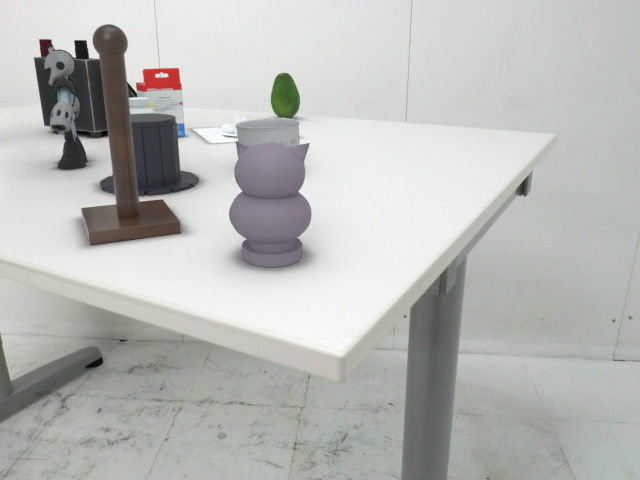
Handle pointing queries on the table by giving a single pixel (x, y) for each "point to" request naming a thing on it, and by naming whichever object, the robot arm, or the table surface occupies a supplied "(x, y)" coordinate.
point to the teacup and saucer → (232, 128)
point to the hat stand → (122, 157)
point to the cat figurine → (270, 203)
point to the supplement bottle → (139, 105)
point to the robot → (65, 106)
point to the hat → (156, 156)
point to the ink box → (164, 94)
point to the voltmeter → (87, 85)
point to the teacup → (269, 131)
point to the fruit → (285, 96)
